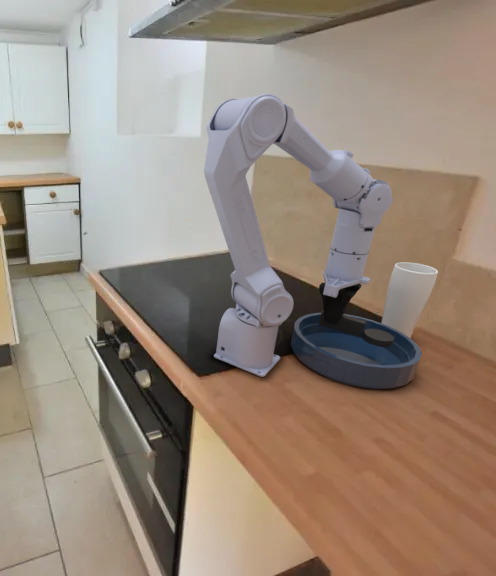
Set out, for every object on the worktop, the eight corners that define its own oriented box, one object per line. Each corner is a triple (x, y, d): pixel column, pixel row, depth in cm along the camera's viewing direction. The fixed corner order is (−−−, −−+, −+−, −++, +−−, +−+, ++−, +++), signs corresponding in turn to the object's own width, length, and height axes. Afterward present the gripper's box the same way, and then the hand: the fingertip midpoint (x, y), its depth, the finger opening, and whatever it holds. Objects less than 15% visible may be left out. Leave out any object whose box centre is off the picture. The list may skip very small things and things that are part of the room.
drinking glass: (401, 329, 80) (423, 262, 74) (422, 346, 74) (448, 274, 68) (367, 328, 81) (387, 261, 75) (385, 344, 75) (408, 273, 69)
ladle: (316, 328, 71) (319, 314, 69) (322, 319, 74) (326, 306, 72) (389, 350, 63) (394, 335, 62) (394, 340, 66) (398, 326, 65)
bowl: (274, 359, 70) (278, 338, 68) (308, 322, 83) (312, 304, 81) (404, 407, 58) (413, 383, 56) (419, 355, 71) (427, 334, 69)
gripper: (367, 265, 58) (346, 342, 63) (384, 245, 68) (365, 313, 73) (317, 256, 62) (301, 329, 67) (340, 238, 72) (325, 303, 77)
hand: (331, 320), depth 70 cm, fingers closed on ladle
